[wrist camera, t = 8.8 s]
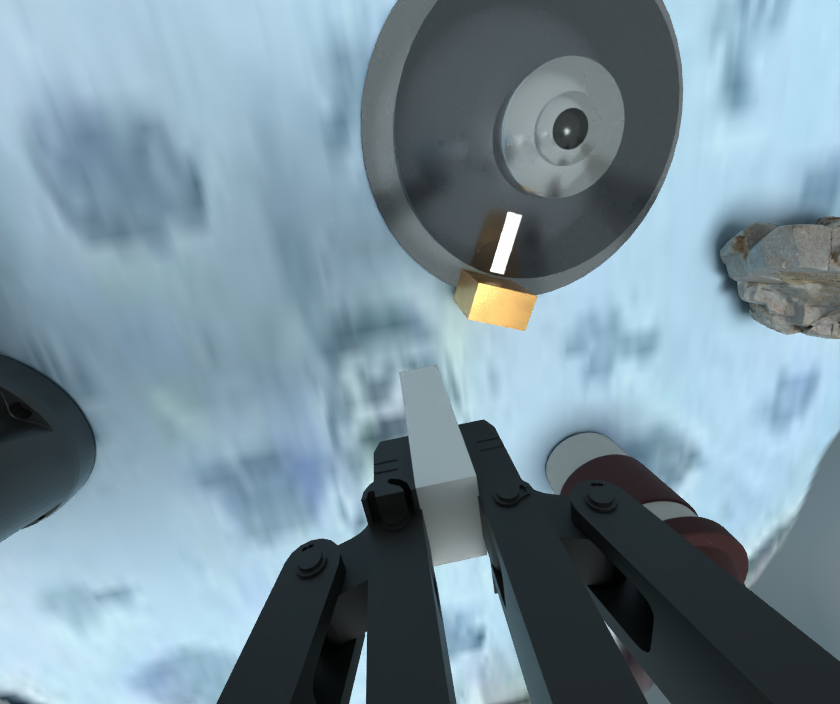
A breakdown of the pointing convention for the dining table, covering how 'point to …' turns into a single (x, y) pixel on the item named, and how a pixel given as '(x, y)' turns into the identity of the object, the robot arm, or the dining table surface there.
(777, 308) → the rock
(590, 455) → the coffee cup
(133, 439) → the dining table surface
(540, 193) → the cover
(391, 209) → the turntable base
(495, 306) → the turntable
